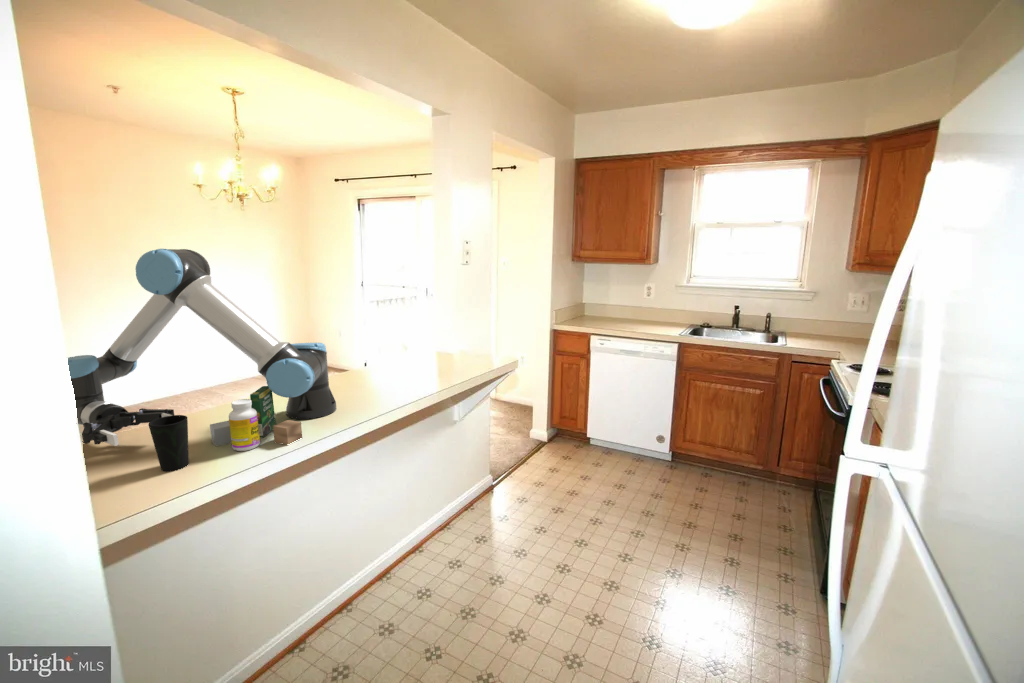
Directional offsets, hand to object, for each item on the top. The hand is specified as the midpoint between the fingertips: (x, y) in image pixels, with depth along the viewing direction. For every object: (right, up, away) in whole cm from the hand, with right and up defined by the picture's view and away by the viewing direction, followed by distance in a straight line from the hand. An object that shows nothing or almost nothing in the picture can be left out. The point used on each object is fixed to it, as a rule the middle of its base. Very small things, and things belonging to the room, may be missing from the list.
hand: (148, 430), depth 118 cm
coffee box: (+20, -4, +18) cm, 28 cm away
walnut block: (+29, -5, +13) cm, 33 cm away
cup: (+9, -8, -3) cm, 13 cm away
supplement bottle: (+20, -6, +9) cm, 23 cm away
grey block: (+12, -5, +12) cm, 18 cm away
